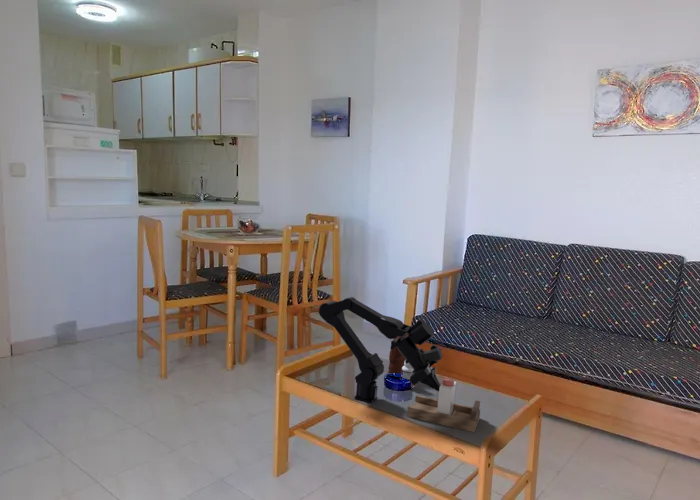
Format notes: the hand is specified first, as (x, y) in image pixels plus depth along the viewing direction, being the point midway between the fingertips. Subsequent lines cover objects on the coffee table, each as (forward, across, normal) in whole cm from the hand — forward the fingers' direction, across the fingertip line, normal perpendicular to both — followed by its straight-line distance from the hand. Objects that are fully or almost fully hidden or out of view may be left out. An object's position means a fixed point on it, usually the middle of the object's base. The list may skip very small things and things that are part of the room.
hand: (440, 390), depth 170 cm
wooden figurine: (-10, +32, +23) cm, 40 cm away
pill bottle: (-5, +21, +18) cm, 28 cm away
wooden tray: (+8, 0, +5) cm, 9 cm away
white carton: (+7, 0, +4) cm, 8 cm away
